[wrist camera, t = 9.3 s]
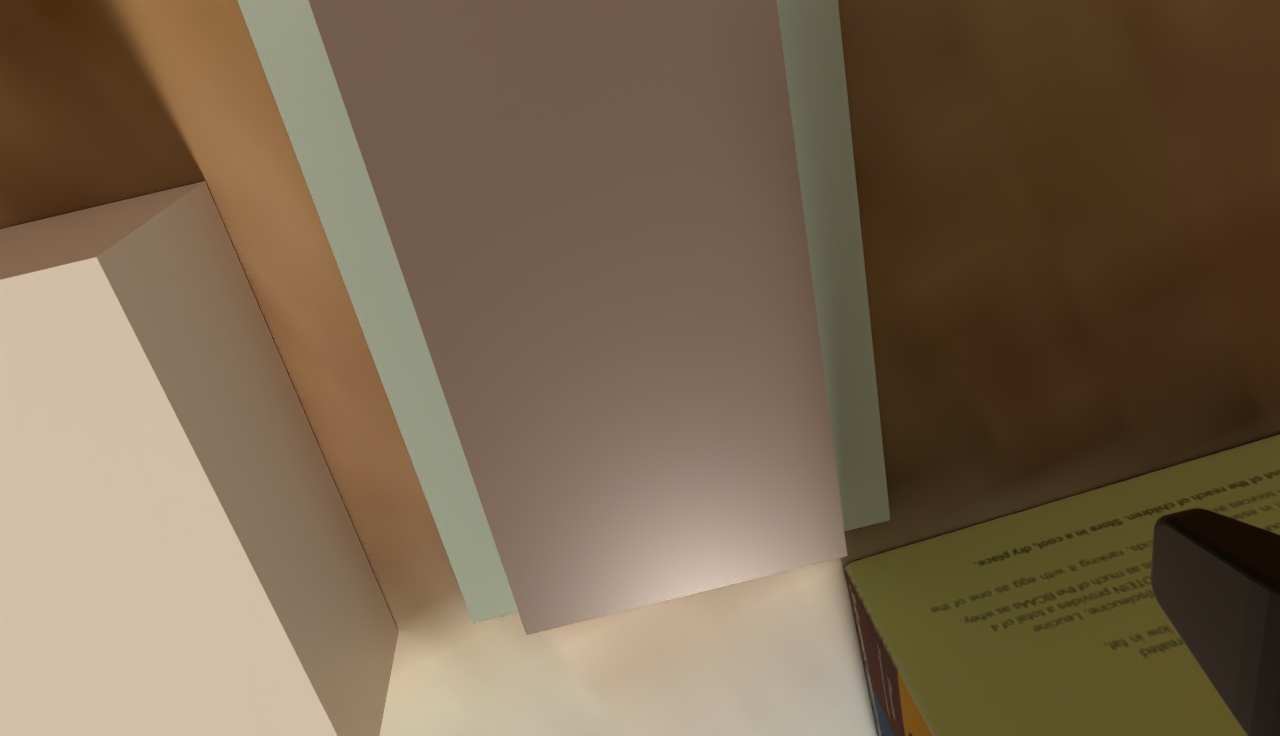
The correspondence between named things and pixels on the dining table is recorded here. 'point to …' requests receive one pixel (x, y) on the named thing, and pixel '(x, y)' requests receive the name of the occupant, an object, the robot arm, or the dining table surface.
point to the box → (167, 496)
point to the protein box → (1052, 614)
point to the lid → (605, 282)
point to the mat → (395, 333)
